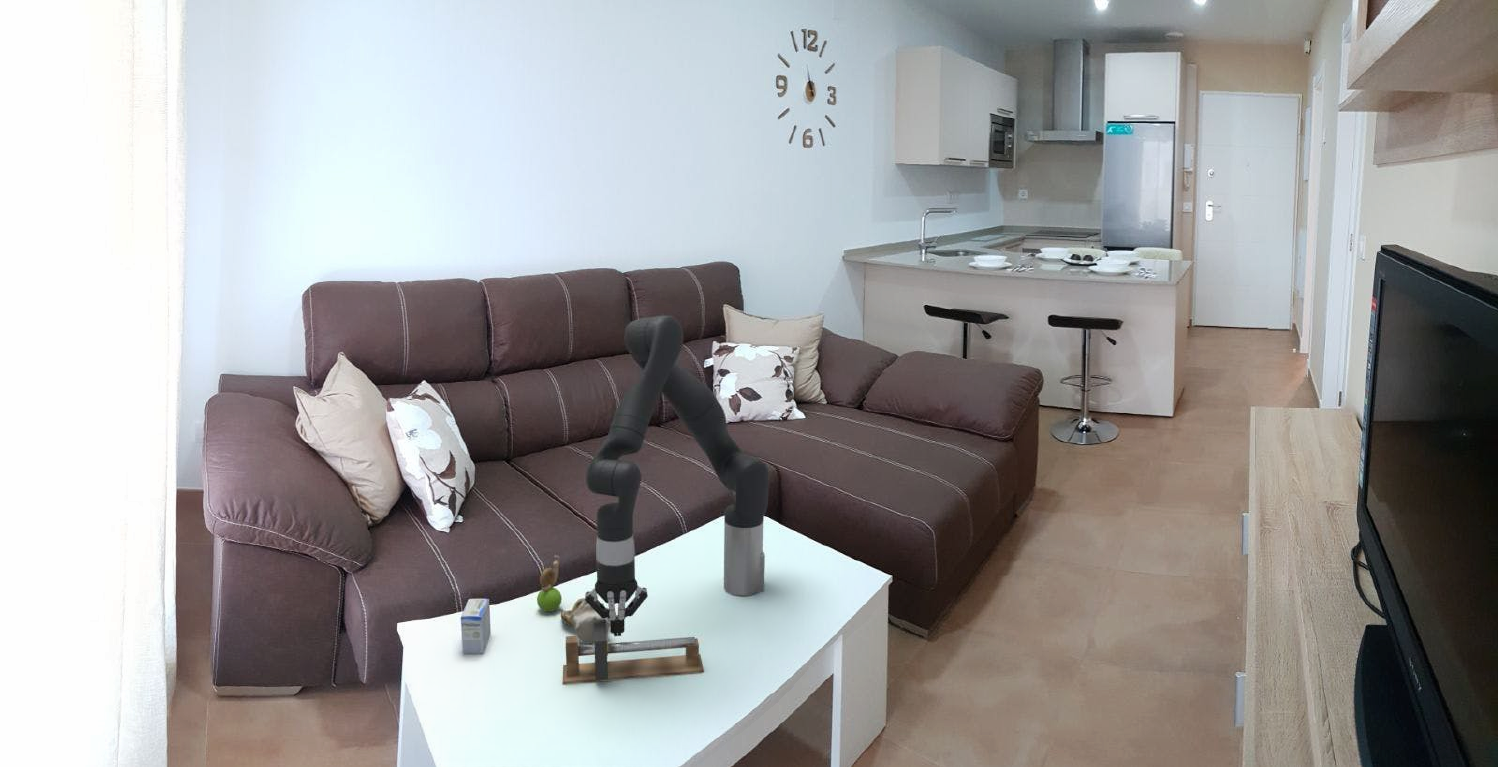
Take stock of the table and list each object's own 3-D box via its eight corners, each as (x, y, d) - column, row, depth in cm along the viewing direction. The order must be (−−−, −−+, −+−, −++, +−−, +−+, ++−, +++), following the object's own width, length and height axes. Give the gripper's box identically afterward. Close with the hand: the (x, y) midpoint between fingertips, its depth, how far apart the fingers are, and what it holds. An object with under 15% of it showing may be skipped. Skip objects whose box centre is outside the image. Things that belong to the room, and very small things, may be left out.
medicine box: (470, 634, 202) (467, 598, 200) (491, 634, 203) (489, 597, 200) (462, 654, 195) (459, 616, 192) (484, 653, 195) (481, 616, 193)
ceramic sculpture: (569, 614, 194) (557, 586, 208) (570, 652, 196) (558, 622, 209) (619, 606, 197) (604, 579, 211) (620, 644, 199) (605, 615, 213)
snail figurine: (569, 605, 215) (567, 557, 212) (552, 618, 210) (550, 568, 206) (549, 600, 217) (547, 552, 214) (532, 612, 212) (530, 563, 209)
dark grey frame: (606, 656, 193) (605, 619, 190) (607, 679, 185) (606, 640, 182) (594, 657, 192) (593, 620, 190) (595, 680, 184) (594, 641, 182)
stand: (700, 656, 195) (700, 622, 193) (703, 672, 189) (704, 636, 187) (563, 667, 190) (561, 632, 188) (562, 684, 185) (561, 648, 182)
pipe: (694, 644, 192) (694, 632, 192) (695, 650, 190) (695, 639, 189) (569, 654, 188) (569, 642, 187) (569, 661, 185) (569, 649, 185)
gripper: (647, 545, 191) (648, 622, 195) (581, 549, 189) (584, 627, 193) (650, 561, 184) (651, 641, 188) (581, 566, 181) (584, 646, 186)
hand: (617, 634), depth 191 cm, fingers closed
